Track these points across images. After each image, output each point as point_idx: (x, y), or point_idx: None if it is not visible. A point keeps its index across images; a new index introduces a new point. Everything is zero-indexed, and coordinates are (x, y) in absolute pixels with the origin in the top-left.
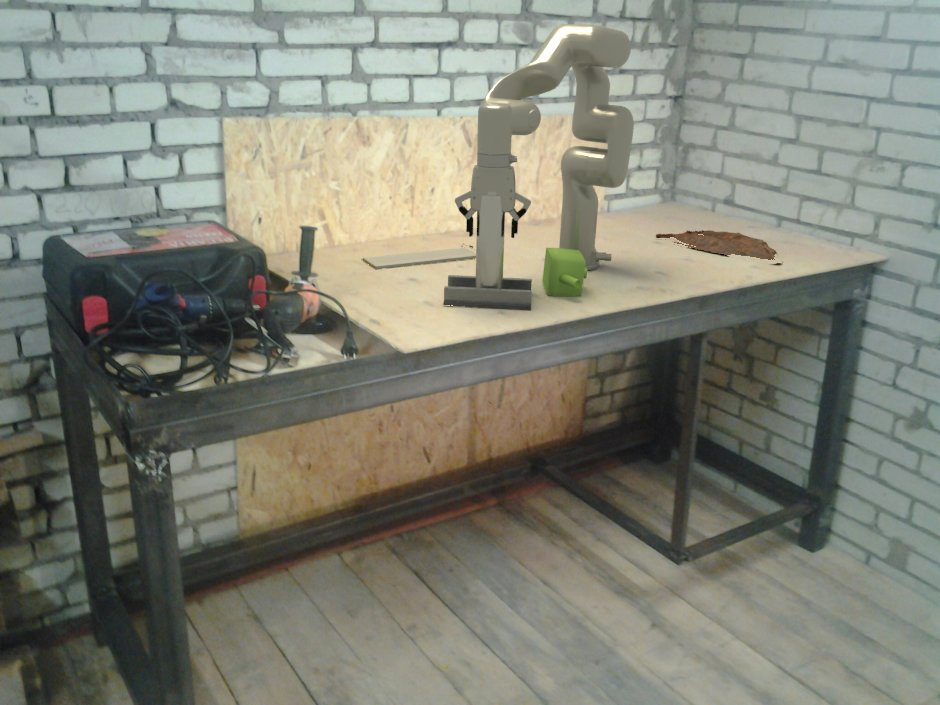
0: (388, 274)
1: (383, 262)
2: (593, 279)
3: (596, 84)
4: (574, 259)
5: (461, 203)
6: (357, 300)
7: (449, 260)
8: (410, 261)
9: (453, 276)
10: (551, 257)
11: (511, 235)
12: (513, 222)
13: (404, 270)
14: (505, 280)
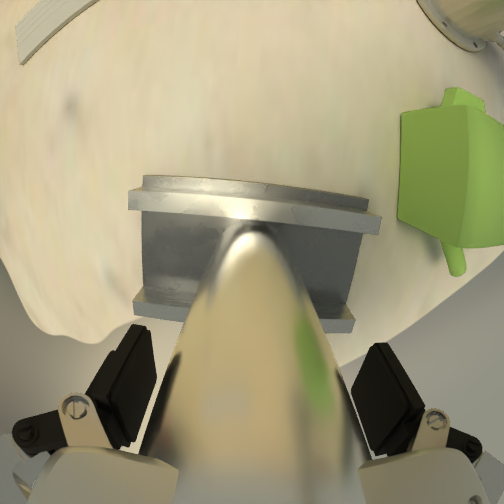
0: (35, 86)
1: (35, 31)
2: None
3: None
4: (496, 236)
5: (31, 481)
6: (18, 269)
7: None
8: (79, 3)
9: (142, 206)
10: (461, 229)
11: (354, 398)
12: (377, 450)
13: (64, 46)
14: (305, 224)
